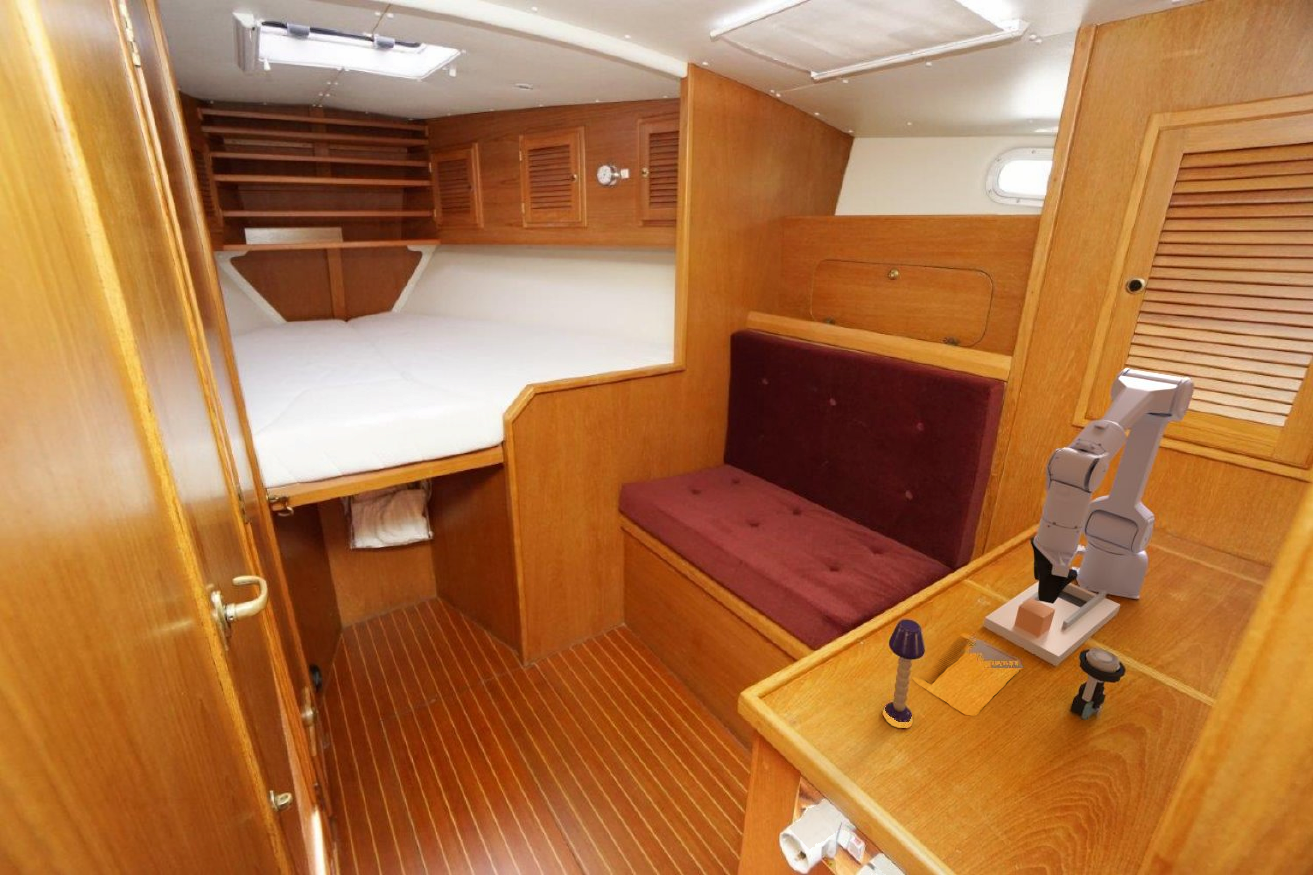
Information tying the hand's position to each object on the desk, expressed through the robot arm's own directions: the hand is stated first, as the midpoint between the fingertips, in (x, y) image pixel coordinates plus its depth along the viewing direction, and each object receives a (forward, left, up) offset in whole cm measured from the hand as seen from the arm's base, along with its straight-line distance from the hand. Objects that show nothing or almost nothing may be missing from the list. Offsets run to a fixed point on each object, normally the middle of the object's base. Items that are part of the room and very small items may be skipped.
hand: (1043, 590), depth 97 cm
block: (0, 0, -7) cm, 7 cm away
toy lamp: (+22, +28, -10) cm, 37 cm away
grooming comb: (+11, +14, -10) cm, 20 cm away
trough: (-4, -6, -9) cm, 12 cm away
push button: (-5, +16, -10) cm, 19 cm away
